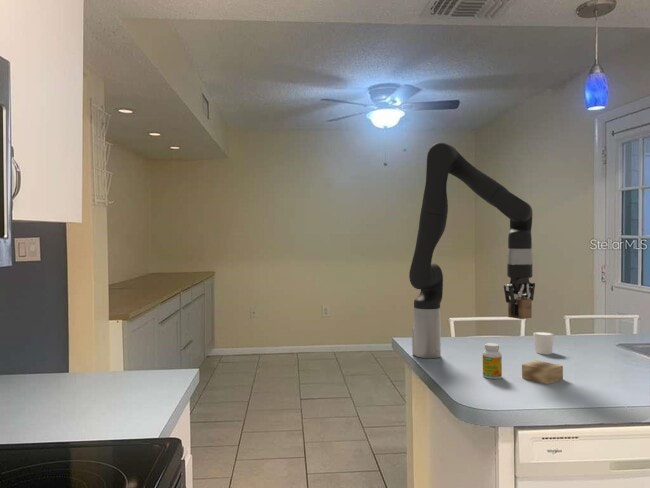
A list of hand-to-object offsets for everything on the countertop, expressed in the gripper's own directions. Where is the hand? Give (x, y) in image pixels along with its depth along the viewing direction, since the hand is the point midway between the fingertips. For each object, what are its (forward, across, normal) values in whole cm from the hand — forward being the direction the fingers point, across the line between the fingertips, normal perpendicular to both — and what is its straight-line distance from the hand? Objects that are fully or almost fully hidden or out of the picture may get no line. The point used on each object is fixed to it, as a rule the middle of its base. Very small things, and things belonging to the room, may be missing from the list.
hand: (519, 315), depth 152 cm
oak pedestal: (+17, +6, +11) cm, 21 cm away
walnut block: (+1, 0, 0) cm, 1 cm away
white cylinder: (+17, -25, -7) cm, 31 cm away
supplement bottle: (+17, +16, +1) cm, 24 cm away
